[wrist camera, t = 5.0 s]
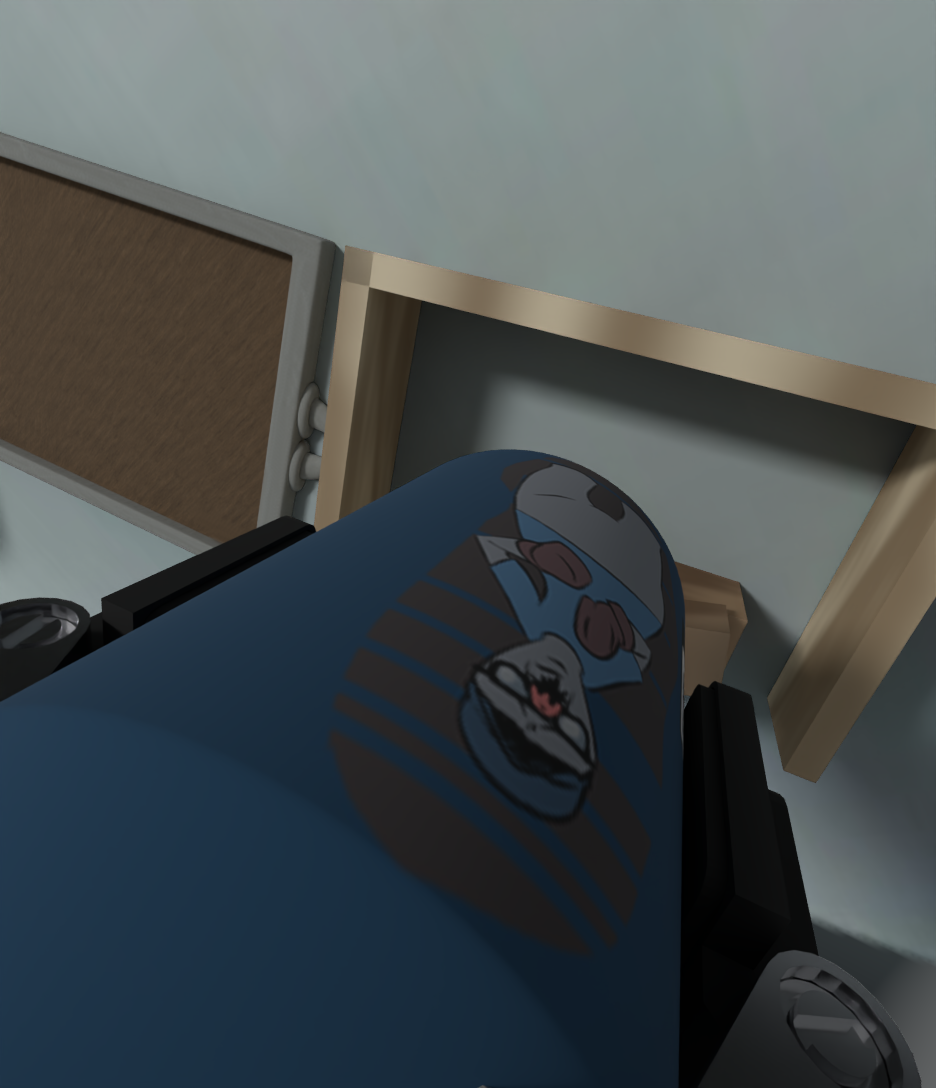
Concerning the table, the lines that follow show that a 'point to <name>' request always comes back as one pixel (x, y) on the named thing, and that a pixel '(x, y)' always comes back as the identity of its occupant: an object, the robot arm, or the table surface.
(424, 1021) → the soda can
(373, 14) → the table surface
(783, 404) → the table surface
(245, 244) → the framed cork board
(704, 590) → the offcut
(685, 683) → the offcut top
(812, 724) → the enclosure
